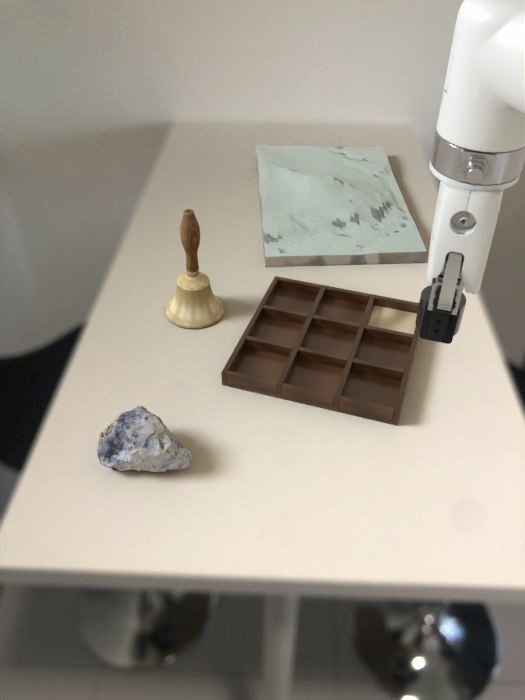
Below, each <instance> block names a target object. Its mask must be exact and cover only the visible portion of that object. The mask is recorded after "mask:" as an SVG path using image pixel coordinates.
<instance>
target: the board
mask: <svg viewBox="0 0 525 700" xmlns="http://www.w3.org/2000/svg"><path fill="white" fill-rule="evenodd" d="M418 306H419V302H416V301H410V300H406V299H405V300H404V299H401V298H394V297H389V296H384V295H379V294H373V293H368V292H362V291H358V290H352V289H346V288H340V287H336V286H330V285H327V284H326V285H325V284H321V283H315V282H310V281H309V282H308V281H303V280H299V279H293V278H287V277H284V276H277V275H275V276H274V278H273V279H272V281H271V283H270V284H269V285H268V288H267V290H266V291H265V293H264V295H263V297H262V299H261V300H260V302H259V305H258V306H257V308H256V310H255V311H254V313H253V315H252V317H251V318H250V320H249V322H248V324H247V326H246V327H245V329H244V331H243V333H242V335H241V336H240V338H239V340H238V342H237V344H236V345H235V346H234V349H233V351H232V353H231V355H230V356H229V358H228V360H227V362H226V363H225V365H224V367H223V369H221V370H222V371H221V372H220V375H221V376H220V377H221V385H222V386H226V387H231V388H234V389H238V390H243V391H248V392H251V393H255V394H260V395H264V396H269V397H273V398H277V399H282V400H286V401H291V402H293V403H299V404H304V405H306V406H307V405H308V406H311V407H316V408H319V409H325V410H328V411H334V412H338V413H342V414H346V415H351V416H355V417H358V418H363V419H367V420H372V421H377V422H380V423H385V424H389V425H393V426H398V425H399V421H400V417H401V414H402V410H403V409H402V408H403V405H404V401H405V396H406V392H407V388H408V384H409V381H410V376H411V371H412V368H413V364H414V360H415V355H416V351H417V349H418V348H417V347H418V343H419V340H420V337H419V333H420V331H419V330H418V328H417V327H416V324H415V321H416V316H417V311H418Z"/></svg>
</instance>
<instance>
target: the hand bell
mask: <svg viewBox="0 0 525 700" xmlns="http://www.w3.org/2000/svg"><path fill="white" fill-rule="evenodd" d="M179 235H180V236H179V237H180V241H181V245H182V248H183V249H184V253H185V265H186V266H185V270H186V271H185V272H184V273H181V274H180V275H179V276H178V278H177V280H176V289H175V295H174V297H172V298H171V299H170V300H169V302H168V303H167V305H166V307H165V316H166V318H167V319H168V321H170V322H171V323H172V324H173V325H175V326H178V327H179V328H183V329H191V330H192V329H196V330H197V329H204V328H207V327H210V326H213V325H214V324H216V323H217V322H219V321H220V320H221V319H222V318H223V316H224V313H225V306H224V303H223V301H222V300H221V299H220V297H218V296H217V295H215V294H214V292H213V290H212V287H211V281H210V278H209V276H208V275H207V274H206V273H204V272H201V271H200V265H199V257H198V253H199V252H198V251H199V247H200V243H201V227H200V224H199V221H198V219H197V217H196V214H195V211H194V209H191V208H186V209H184V210H183V215H182V219H181V222H180V227H179Z"/></svg>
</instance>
